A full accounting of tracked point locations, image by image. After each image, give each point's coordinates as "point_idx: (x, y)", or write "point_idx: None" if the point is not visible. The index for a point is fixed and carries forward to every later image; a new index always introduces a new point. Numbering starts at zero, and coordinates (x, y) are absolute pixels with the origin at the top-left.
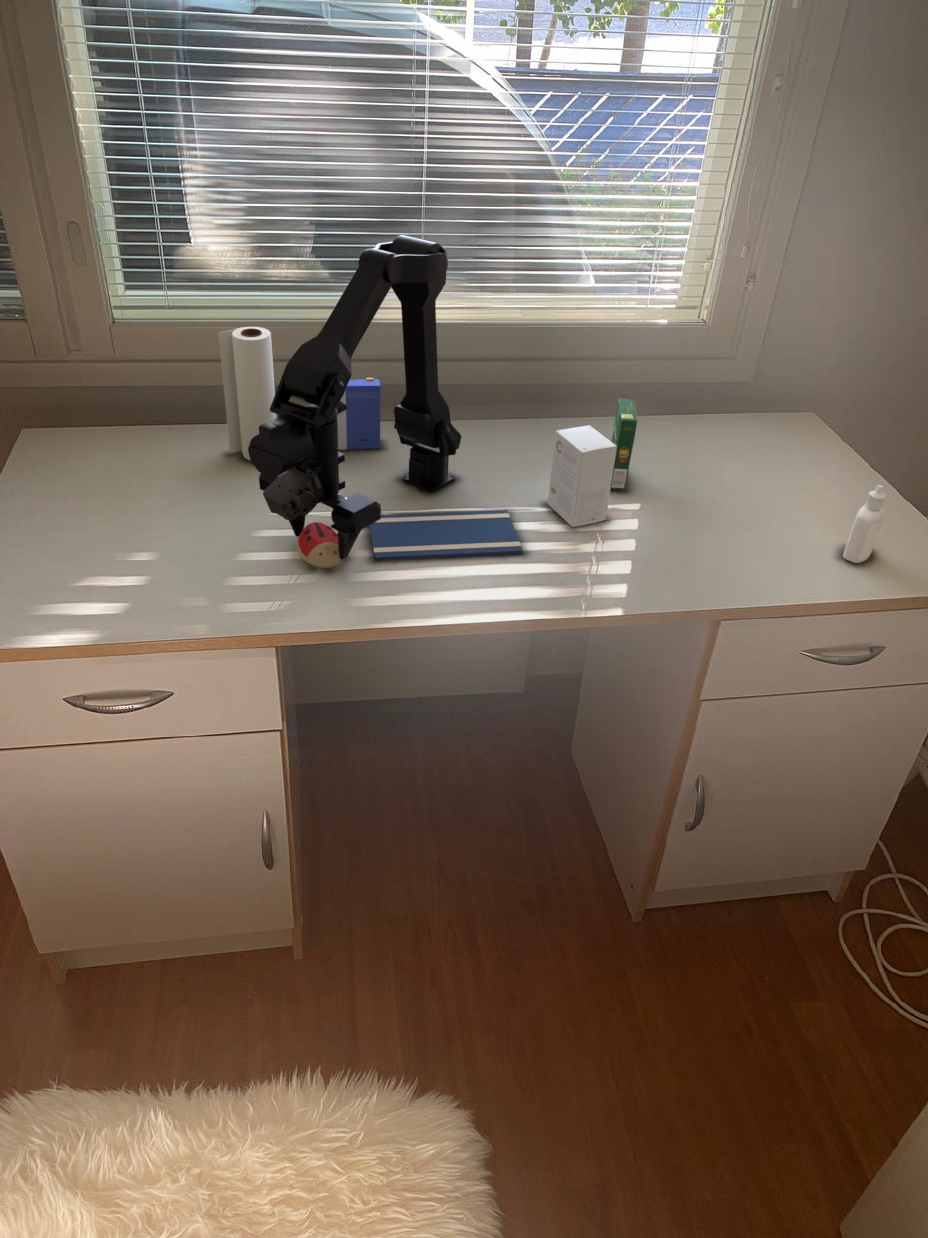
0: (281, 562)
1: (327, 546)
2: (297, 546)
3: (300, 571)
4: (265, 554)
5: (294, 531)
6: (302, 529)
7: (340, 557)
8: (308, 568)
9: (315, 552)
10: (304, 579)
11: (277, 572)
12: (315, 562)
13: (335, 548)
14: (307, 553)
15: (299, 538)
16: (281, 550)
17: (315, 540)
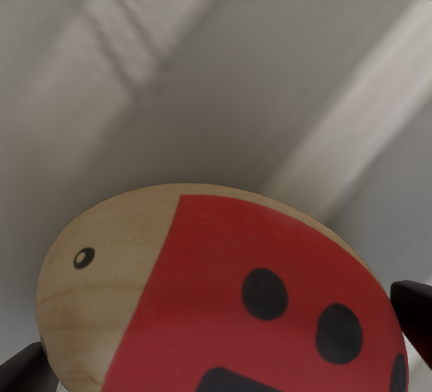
0: (299, 98)
1: (75, 342)
2: (321, 225)
3: (161, 118)
4: (410, 84)
5: (428, 289)
6: (410, 335)
7: (37, 345)
8: (157, 170)
9: (127, 240)
10: (77, 81)
11: (239, 11)
12: (110, 202)
13: (56, 374)
14: (190, 206)
15: (351, 266)
16: (379, 170)
17: (197, 315)
